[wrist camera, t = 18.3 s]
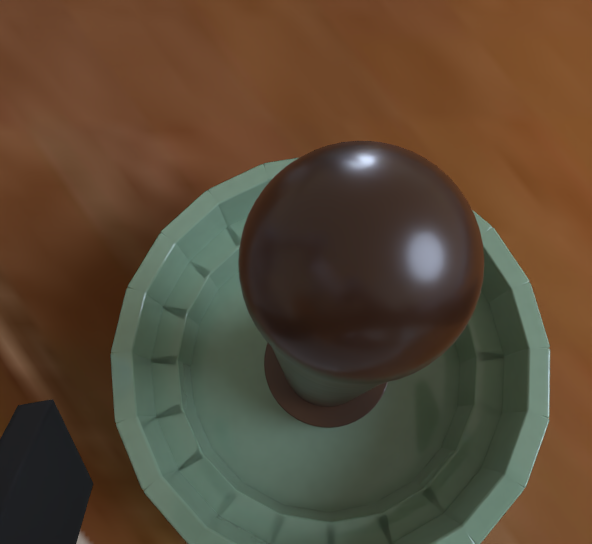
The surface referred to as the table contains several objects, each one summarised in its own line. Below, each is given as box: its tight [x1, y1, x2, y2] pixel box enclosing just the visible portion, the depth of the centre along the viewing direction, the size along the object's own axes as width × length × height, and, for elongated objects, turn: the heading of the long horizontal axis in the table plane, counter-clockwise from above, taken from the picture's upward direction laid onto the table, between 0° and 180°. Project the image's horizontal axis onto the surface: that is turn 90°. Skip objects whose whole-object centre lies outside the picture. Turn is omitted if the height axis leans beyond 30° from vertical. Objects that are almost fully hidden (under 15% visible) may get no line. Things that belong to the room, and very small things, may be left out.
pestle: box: [238, 141, 484, 428], centre depth 15 cm, size 5×5×18 cm
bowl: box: [110, 158, 550, 544], centre depth 21 cm, size 16×16×6 cm
